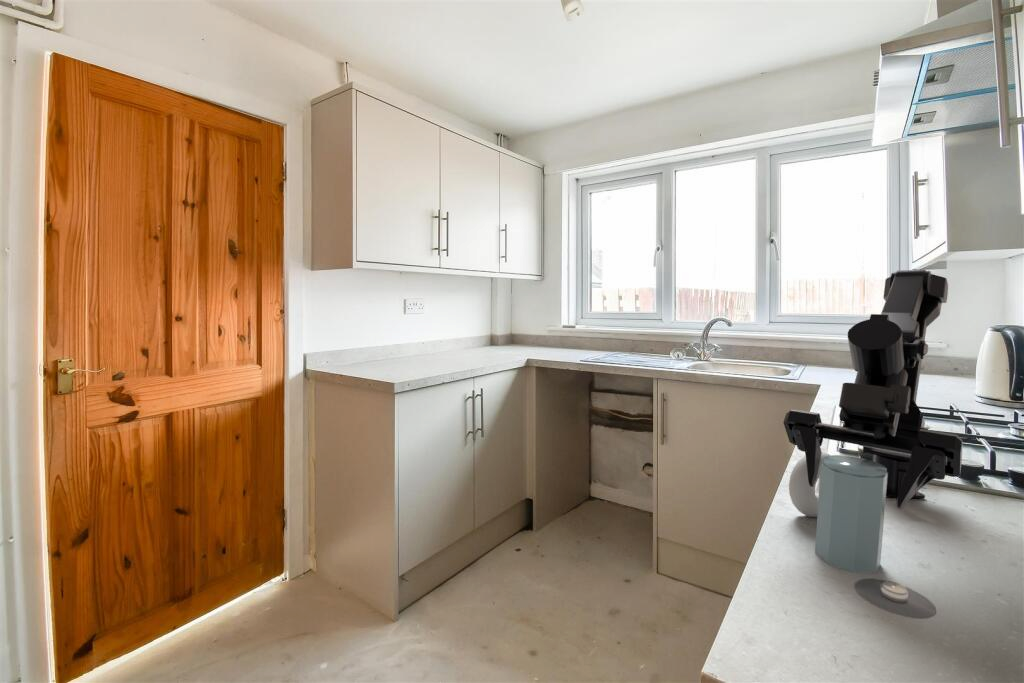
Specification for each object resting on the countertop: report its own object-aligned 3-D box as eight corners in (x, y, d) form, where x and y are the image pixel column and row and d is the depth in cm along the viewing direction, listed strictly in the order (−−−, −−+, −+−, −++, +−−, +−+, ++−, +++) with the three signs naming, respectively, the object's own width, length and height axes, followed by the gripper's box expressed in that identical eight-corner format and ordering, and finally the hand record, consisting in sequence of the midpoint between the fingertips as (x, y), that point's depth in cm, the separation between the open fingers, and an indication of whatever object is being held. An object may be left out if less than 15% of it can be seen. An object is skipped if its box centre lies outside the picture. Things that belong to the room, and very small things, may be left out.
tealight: (874, 589, 54) (875, 579, 54) (897, 591, 54) (898, 580, 54) (889, 603, 52) (890, 592, 52) (913, 604, 52) (914, 593, 51)
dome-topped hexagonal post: (806, 546, 64) (812, 454, 63) (854, 548, 64) (861, 455, 63) (837, 574, 58) (845, 472, 57) (891, 575, 58) (900, 473, 57)
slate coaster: (841, 579, 57) (841, 576, 57) (904, 583, 56) (904, 580, 56) (881, 618, 50) (881, 615, 50) (953, 623, 49) (954, 620, 49)
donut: (825, 506, 77) (830, 445, 76) (847, 515, 74) (852, 452, 73) (781, 516, 73) (785, 452, 72) (802, 526, 70) (806, 459, 69)
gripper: (791, 353, 69) (759, 443, 63) (969, 368, 56) (953, 483, 49) (804, 400, 76) (776, 486, 69) (967, 423, 62) (952, 532, 55)
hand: (852, 495), depth 60 cm, fingers open, 9 cm apart
